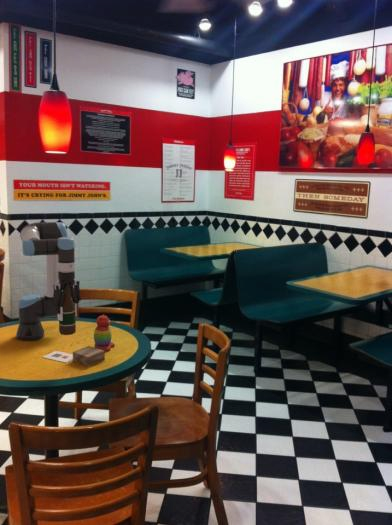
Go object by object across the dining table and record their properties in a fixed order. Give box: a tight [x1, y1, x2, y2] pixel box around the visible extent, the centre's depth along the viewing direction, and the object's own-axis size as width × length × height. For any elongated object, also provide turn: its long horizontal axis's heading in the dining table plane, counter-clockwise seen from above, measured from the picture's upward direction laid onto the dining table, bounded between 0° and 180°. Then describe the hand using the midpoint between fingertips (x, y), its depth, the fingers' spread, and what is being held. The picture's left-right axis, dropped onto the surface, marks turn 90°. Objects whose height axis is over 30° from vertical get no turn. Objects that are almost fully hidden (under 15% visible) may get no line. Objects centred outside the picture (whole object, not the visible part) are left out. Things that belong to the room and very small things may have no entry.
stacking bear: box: [93, 314, 116, 352], centre depth 271 cm, size 11×10×18 cm
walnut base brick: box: [72, 345, 106, 367], centre depth 254 cm, size 11×11×5 cm
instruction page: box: [42, 350, 73, 364], centre depth 258 cm, size 15×10×1 cm, turn 66°
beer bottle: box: [58, 284, 77, 336], centre depth 239 cm, size 8×8×24 cm
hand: (67, 318), depth 240 cm, fingers closed on beer bottle, 8 cm apart
